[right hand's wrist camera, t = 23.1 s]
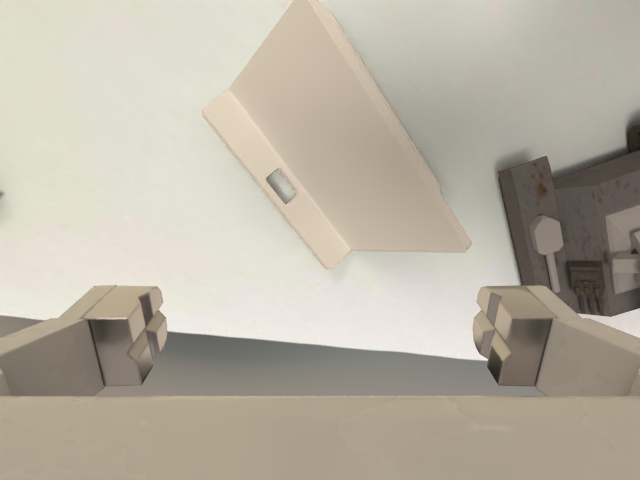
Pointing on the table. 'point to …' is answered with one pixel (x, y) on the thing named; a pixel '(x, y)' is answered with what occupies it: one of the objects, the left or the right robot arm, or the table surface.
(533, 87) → the table surface
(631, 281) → the toy
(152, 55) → the table surface
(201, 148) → the table surface
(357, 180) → the tablet stand
